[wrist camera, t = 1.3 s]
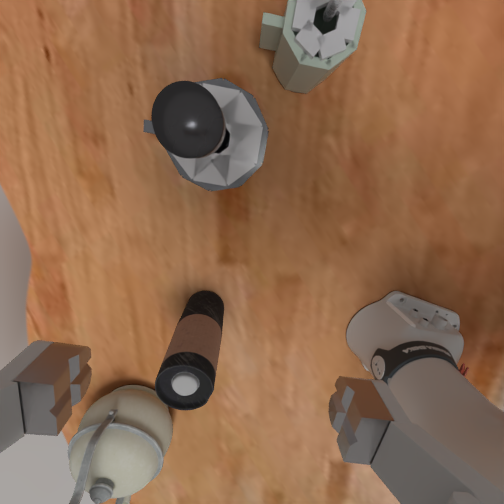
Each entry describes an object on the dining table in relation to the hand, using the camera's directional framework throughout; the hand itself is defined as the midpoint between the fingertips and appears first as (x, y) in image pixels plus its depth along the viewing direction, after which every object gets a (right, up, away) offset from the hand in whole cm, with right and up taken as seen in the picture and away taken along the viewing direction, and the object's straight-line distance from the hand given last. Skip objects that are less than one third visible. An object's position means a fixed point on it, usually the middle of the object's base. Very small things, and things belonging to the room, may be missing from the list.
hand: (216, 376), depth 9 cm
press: (-4, +22, +35) cm, 41 cm away
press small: (+7, +32, +31) cm, 45 cm away
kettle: (-25, -33, +54) cm, 67 cm away
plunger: (-2, +15, +17) cm, 23 cm away
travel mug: (-8, -6, +45) cm, 46 cm away
